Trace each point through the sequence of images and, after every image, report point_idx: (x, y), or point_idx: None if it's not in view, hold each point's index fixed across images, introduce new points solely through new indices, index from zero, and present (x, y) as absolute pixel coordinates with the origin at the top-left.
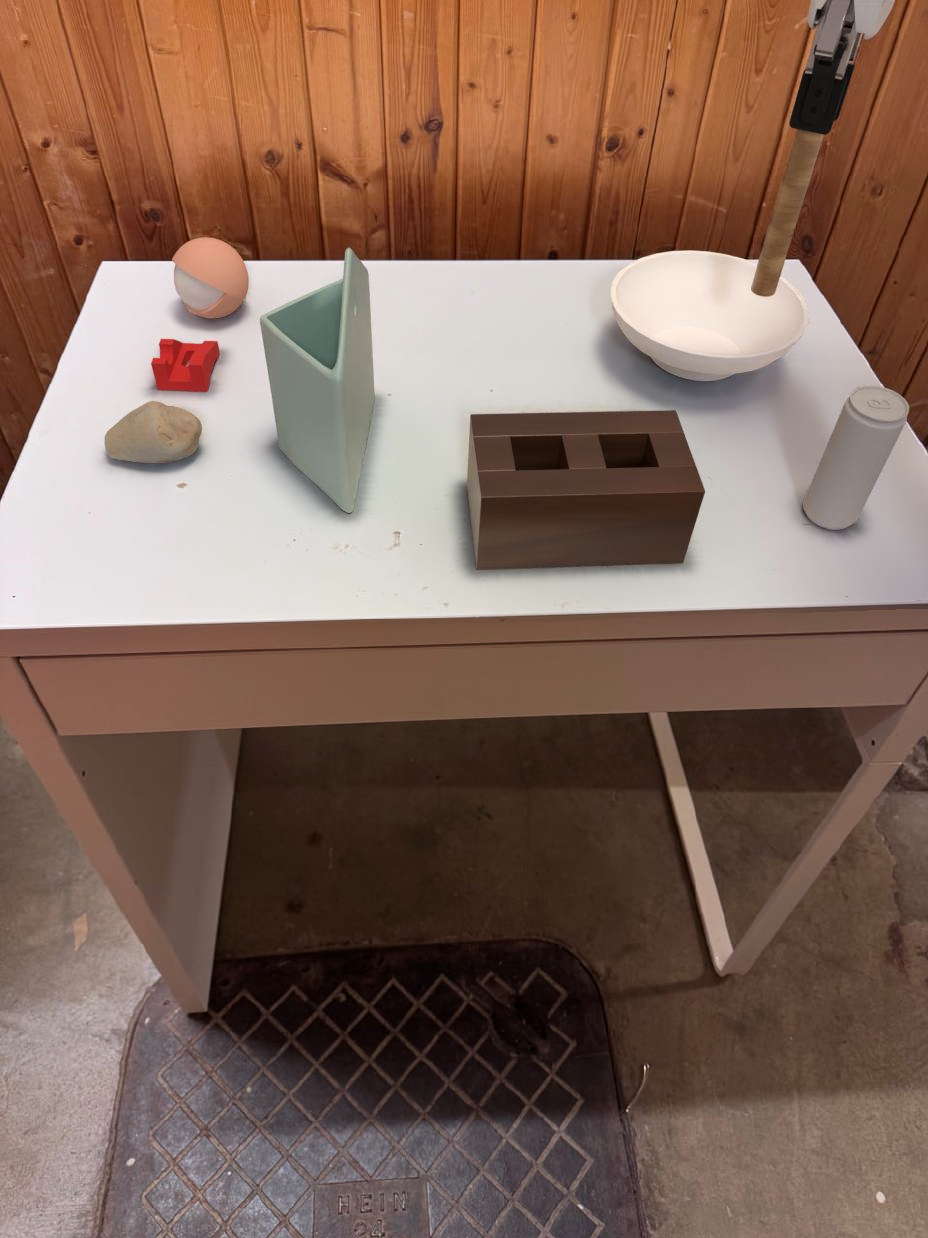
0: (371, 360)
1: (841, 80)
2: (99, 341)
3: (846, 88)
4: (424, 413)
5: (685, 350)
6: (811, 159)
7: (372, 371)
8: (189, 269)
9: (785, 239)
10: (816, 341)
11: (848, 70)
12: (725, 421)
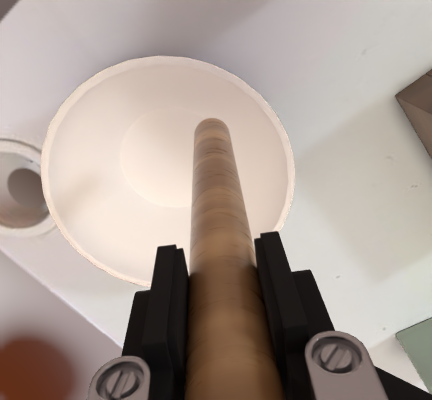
0: (429, 364)
1: (339, 331)
2: None
3: (170, 294)
4: (394, 298)
5: (293, 163)
6: (237, 215)
7: (419, 355)
8: None
9: (229, 152)
10: (31, 50)
11: (176, 341)
12: (260, 79)
